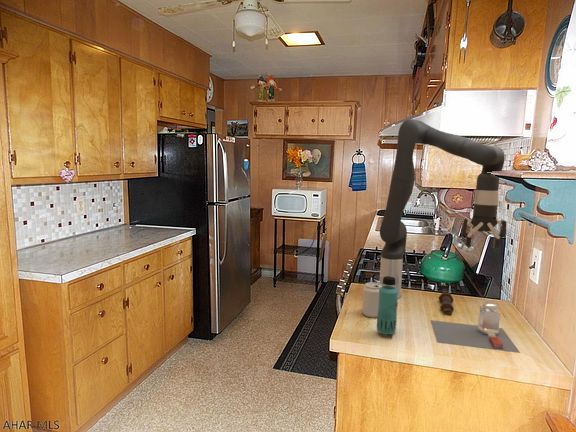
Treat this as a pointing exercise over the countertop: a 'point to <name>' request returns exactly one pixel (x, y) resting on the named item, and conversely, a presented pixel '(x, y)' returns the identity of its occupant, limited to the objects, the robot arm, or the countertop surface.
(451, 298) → the bolt
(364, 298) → the can
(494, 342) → the ratchet
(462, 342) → the tool mat
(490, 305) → the metal block with knob
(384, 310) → the beverage bottle
